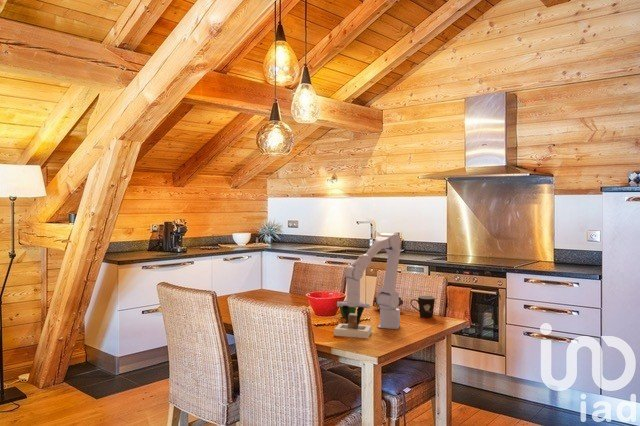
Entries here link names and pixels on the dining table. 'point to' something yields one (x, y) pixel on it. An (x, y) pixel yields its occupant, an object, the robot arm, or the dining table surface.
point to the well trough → (353, 331)
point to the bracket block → (352, 321)
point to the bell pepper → (352, 310)
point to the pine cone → (388, 293)
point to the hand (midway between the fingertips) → (353, 323)
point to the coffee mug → (425, 306)
